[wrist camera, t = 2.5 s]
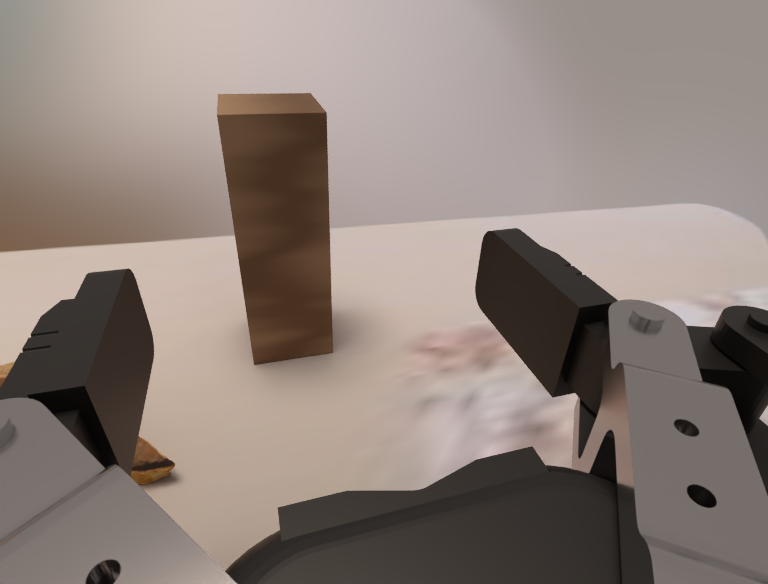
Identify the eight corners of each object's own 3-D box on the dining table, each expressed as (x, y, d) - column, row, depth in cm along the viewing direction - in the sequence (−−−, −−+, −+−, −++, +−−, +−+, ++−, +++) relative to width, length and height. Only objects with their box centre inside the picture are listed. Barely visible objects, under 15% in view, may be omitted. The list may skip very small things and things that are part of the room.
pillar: (254, 364, 23) (216, 114, 17) (250, 318, 26) (218, 94, 20) (332, 352, 24) (326, 112, 18) (319, 309, 28) (310, 93, 21)
